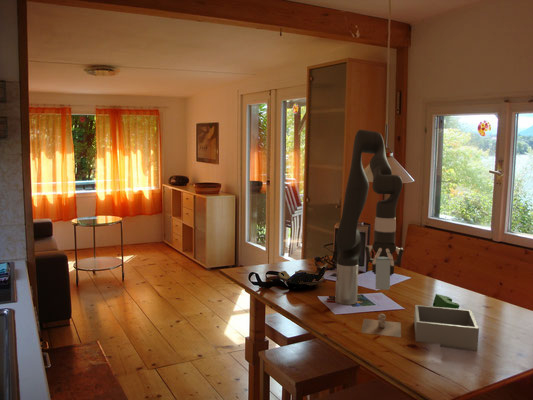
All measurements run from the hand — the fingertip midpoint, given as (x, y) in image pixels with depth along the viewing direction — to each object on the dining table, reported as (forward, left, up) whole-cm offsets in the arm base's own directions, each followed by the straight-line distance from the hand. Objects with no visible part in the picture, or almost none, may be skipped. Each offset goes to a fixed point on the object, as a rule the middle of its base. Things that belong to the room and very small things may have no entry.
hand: (382, 274), depth 173 cm
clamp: (+26, +28, -22) cm, 44 cm away
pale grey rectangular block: (0, 0, -5) cm, 5 cm away
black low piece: (-38, +48, -22) cm, 65 cm away
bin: (+22, 0, -22) cm, 31 cm away
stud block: (0, 0, -22) cm, 22 cm away
